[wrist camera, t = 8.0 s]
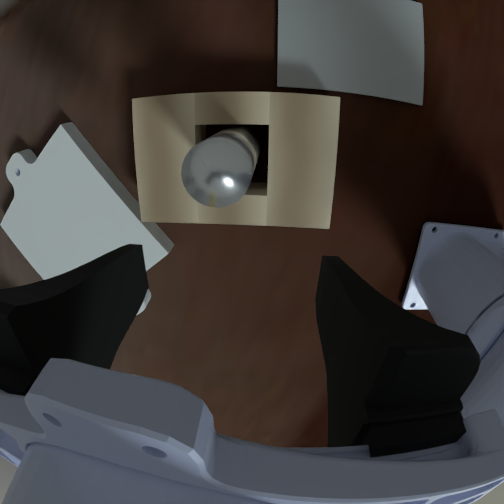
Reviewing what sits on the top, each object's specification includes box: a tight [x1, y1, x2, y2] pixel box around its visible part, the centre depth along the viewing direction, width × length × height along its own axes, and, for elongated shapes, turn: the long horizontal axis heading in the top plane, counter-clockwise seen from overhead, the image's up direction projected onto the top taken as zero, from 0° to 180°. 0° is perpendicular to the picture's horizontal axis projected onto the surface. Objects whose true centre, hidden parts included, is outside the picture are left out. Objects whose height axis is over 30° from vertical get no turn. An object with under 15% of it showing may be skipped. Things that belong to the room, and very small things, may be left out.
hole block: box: [132, 92, 340, 229], centre depth 19 cm, size 12×8×3 cm, turn 89°
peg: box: [181, 125, 260, 208], centre depth 16 cm, size 3×3×8 cm
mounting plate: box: [0, 122, 174, 315], centre depth 23 cm, size 18×13×2 cm
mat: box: [277, 0, 424, 106], centre depth 15 cm, size 10×8×1 cm
